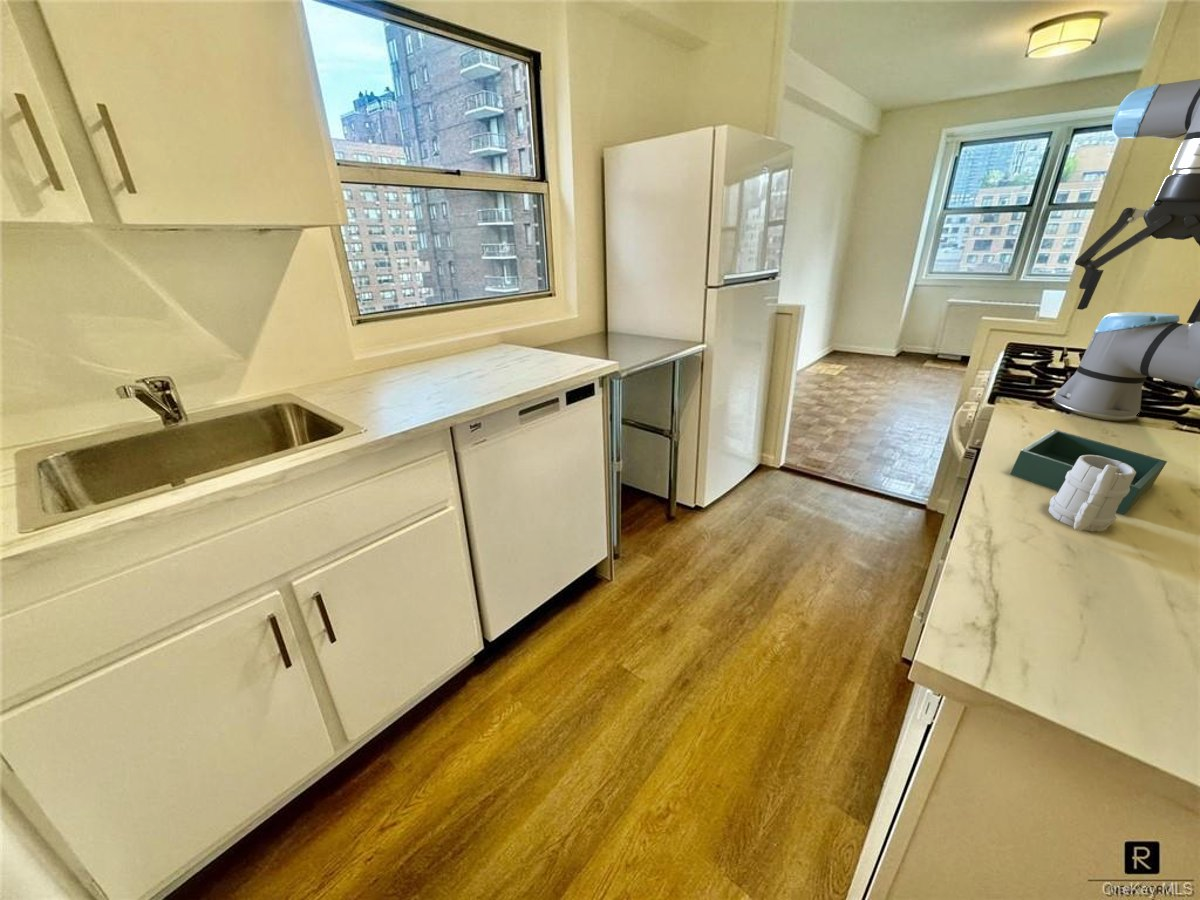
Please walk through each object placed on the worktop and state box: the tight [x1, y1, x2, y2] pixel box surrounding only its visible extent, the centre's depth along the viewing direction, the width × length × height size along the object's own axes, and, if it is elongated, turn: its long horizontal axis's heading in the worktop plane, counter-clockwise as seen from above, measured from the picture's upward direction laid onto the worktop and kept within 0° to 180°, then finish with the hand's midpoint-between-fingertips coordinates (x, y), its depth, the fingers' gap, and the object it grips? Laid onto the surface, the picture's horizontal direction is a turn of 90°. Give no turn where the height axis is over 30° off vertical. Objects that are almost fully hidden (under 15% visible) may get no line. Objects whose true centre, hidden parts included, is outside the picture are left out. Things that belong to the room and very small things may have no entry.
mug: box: [1048, 455, 1136, 532], centre depth 73 cm, size 8×12×12 cm, turn 135°
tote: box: [1009, 429, 1168, 516], centre depth 86 cm, size 17×16×5 cm
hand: (1133, 315), depth 82 cm, fingers open, 13 cm apart
